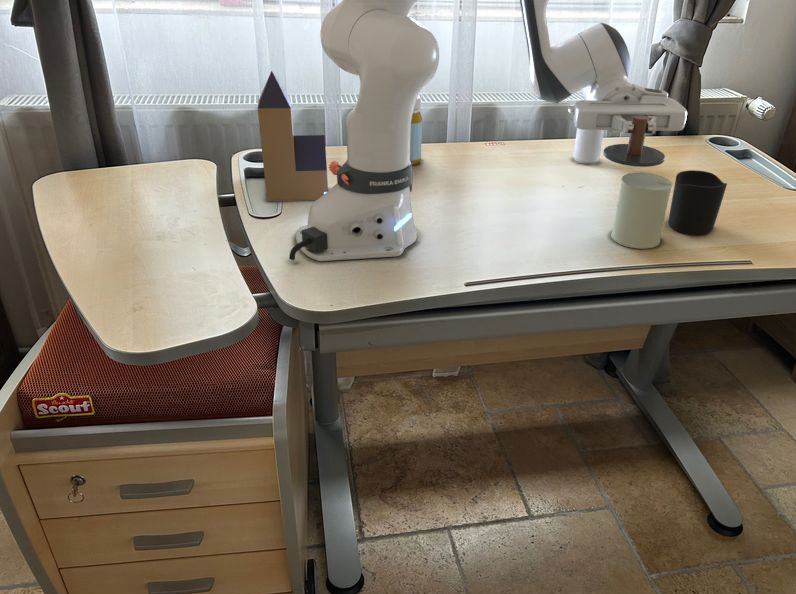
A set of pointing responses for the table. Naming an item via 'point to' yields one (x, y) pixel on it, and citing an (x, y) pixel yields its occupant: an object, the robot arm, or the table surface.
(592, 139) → the beverage can
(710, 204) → the pen holder
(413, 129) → the bottle
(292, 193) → the toy building blocks
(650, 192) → the can
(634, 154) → the lid
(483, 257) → the table surface
